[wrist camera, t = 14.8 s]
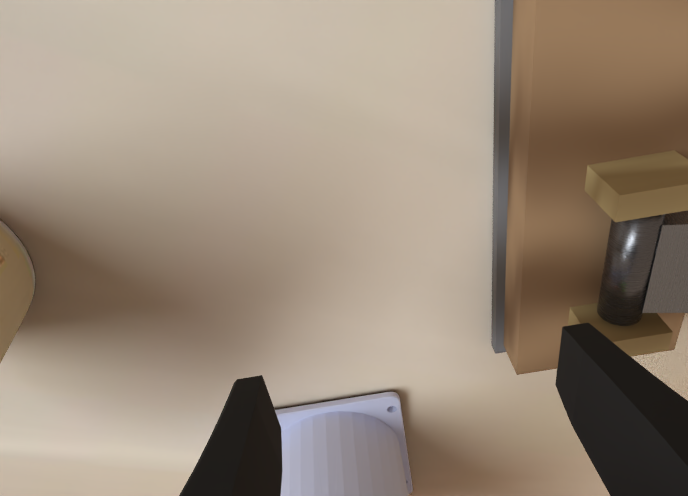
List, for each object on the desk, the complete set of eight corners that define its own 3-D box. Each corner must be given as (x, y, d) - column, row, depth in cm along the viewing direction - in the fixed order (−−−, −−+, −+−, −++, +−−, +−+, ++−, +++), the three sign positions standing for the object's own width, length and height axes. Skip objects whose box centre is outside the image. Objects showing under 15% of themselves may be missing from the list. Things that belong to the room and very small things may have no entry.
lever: (592, 298, 21) (739, 297, 20) (602, 326, 20) (758, 326, 19) (609, 194, 19) (780, 185, 17) (621, 217, 17) (806, 210, 16)
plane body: (650, 319, 26) (711, 393, 22) (491, 344, 26) (524, 422, 22) (802, -299, 14) (1003, -376, 10) (497, -239, 14) (575, -292, 10)
